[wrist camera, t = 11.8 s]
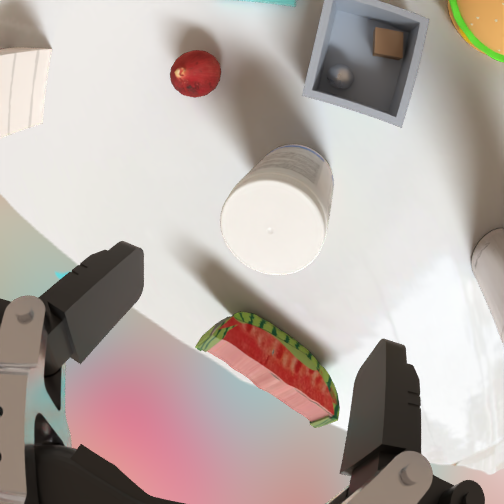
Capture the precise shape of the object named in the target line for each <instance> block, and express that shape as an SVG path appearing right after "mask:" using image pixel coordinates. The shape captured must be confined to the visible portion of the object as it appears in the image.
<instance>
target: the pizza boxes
mask: <svg viewBox="0 0 504 504" xmlns="http://www.w3.org/2000/svg"><path fill="white" fill-rule="evenodd" d="M51 53H52V49H47V48H26V47H13V48H6V49H0V138H3V137H6V136H8V135H11V134H14V133H16V132H19V131H22V130H25V129H28V128H31V127H34V126H37V125H40V124H42V123H43V111H44V101H45V92H46V84H47V77H48V70H49V64H50V59H51Z"/></svg>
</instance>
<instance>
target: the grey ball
mask: <svg viewBox="0 0 504 504" xmlns="http://www.w3.org/2000/svg"><path fill="white" fill-rule="evenodd" d="M327 79H328V81H329V83H330V84H331V85H332V86H333V87H334V88H337V89H347V88H349V87H350V86H351V85H352V83H353V81H354V75H353V72H352V70H351V69H350V68H349V67H347V66H346V65H343V64H336V65H334V66H332V67H331V68H330V69H329V70H328V73H327Z"/></svg>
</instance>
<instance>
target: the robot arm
mask: <svg viewBox="0 0 504 504" xmlns="http://www.w3.org/2000/svg"><path fill="white" fill-rule="evenodd" d="M471 266H472V271H473V273H474V276H475V278H476V280H477V282H478V284H479V286H480V289H481V291H482V293H483V296H484V298H485V300H486V302H487V305H488V307H489V309H490V312H491V314H492V317H493V319H494V322H495V324H496V327H497V330H498V332H499V335H500V338H501V340H502V343H503V346H504V228H499V229H496V230H493V231H491V232H489V233H488V234H486V235H485V236H484V237H483V238H482V239H481V240H480V241H479V243H478V244H477V246H476V247H475V250H474V252H473V256H472V263H471ZM143 287H144V253H143V250H142V249H141V248H139V247H136V246H134V245H131V244H129V243H127V242H124V241H121V242H119V243H117V244H116V245H115V246H113V247H112V248H111V249H110V250H108V251H107V250H103V251H100V252H98V253H95V254H92V255H90V256H89V257H88V258H87V259H85V260H84V261H83V262H82V263H80V266H79V265H78V266H76V267H75V268H74V269H73V270H72V272H69V273H68V274H67V275H65V276H64V277H63V278H62V279H60V280H59V281H58V282H57V283H56V284H54V285H53V286H52V287H51V288H50V289H49V290H47V291H46V292H45V293H44V294H43V295H41V296H40V297H39V298H37V297H35V296H22V297H19V298H17V299H15V300H13V301H12V302H10V301H7V300H3V299H0V504H184V503H179V502H174V501H170V500H164V499H160V498H156V497H153V496H150V495H148V494H147V493H145V492H144V491H143V490H142V489H141V488H139V487H138V486H137V485H136V484H135V483H134V482H132V481H131V480H130V479H129V478H128V477H127V476H126V475H125V474H123V473H122V472H121V471H120V470H119V469H118V468H117V467H116V466H115V465H113V464H112V463H110V462H108V461H106V460H105V459H103V458H102V457H100V456H99V455H97V454H95V453H94V452H92V451H91V450H89V449H88V448H86V447H85V446H83V445H82V444H81V445H80V446H79V447H78V449H74V448H72V444H71V436H70V431H69V428H68V424H67V421H66V415H65V375H66V365H65V362H66V361H67V360H68V359H69V358H70V357H71V358H72V359H74V360H75V361H77V362H78V363H80V364H81V363H82V362H83V361H84V360H85V358H86V357H87V356H88V355H89V354H90V353H91V352H92V350H93V349H94V348H95V347H96V346H97V345H98V344H99V342H100V341H101V340H102V339H103V338H104V337H105V336H106V335H107V334H108V332H109V331H110V330H111V329H112V328H113V327H114V326H115V325H116V324H117V322H118V321H119V320H120V319H121V318H122V317H123V316H124V315H125V314H126V313H127V312H128V310H129V309H130V308H131V307H132V306H133V305H134V304H135V303H136V302H137V301H138V299H139V298H140V296H141V294H142V291H143ZM419 395H420V383H419V378H418V375H417V373H416V371H415V369H414V366H413V365H410V364H407V360H406V348H405V346H404V345H402V344H399V343H396V342H393V341H390V340H386V339H381V340H380V341H379V343H378V344H377V345H376V347H375V348H374V350H373V351H372V353H371V354H370V355H369V357H368V358H367V360H366V361H365V362H364V364H363V365H362V366H361V368H360V370H359V372H358V374H357V376H356V379H355V382H354V388H353V396H352V404H351V411H350V418H349V425H348V431H347V437H346V443H345V449H344V454H343V460H342V465H341V470H340V474H343V475H348V476H351V480H350V485H348V486H347V487H346V488H344V489H343V490H342V491H341V492H340V493H338V494H337V495H336V496H335V497H334V498H332V499H331V500H330V501H328V502H327V503H326V504H485V497H484V493H483V490H482V488H481V487H480V485H478V483H476V482H474V481H472V480H466V481H463V482H461V483H459V484H457V485H455V486H454V485H452V484H450V483H448V482H446V481H444V480H442V479H439V478H438V477H436V476H434V475H433V473H432V468H431V465H430V463H429V462H428V460H427V459H426V458H425V457H424V456H423V455H422V454H421V408H420V406H421V403H420V397H419Z"/></svg>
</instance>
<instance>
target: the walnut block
mask: <svg viewBox="0 0 504 504" xmlns="http://www.w3.org/2000/svg"><path fill="white" fill-rule="evenodd" d="M372 56H378V57H383V58H389V59H394V60H400V59H402V58H403V32H399V31H394V30H389V29H384V28H378V27H375V29H374V31H373V54H372Z"/></svg>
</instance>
